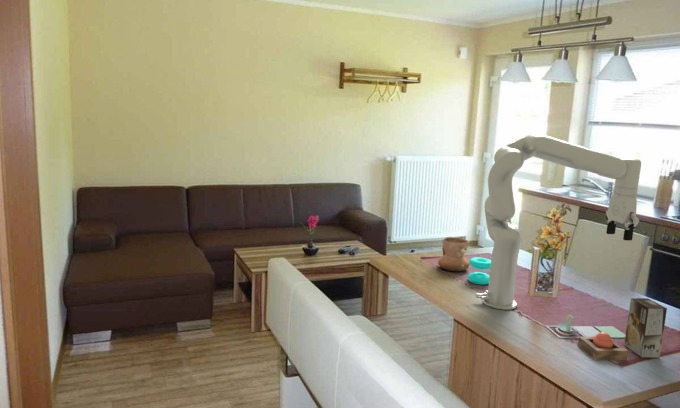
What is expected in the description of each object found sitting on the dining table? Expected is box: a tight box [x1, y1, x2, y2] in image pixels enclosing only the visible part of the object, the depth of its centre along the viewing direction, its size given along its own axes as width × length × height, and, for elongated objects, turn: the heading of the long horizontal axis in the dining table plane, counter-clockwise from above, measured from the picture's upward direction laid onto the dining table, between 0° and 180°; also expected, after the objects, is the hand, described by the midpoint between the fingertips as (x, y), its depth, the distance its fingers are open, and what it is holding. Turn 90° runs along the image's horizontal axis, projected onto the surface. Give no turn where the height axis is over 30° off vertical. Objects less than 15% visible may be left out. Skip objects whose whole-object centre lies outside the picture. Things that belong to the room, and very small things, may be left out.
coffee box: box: [623, 297, 668, 358], centre depth 162 cm, size 9×6×16 cm
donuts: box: [467, 256, 491, 286], centre depth 225 cm, size 10×10×10 cm
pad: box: [593, 325, 626, 339], centre depth 177 cm, size 7×9×1 cm
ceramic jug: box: [437, 236, 471, 272], centre depth 243 cm, size 18×14×14 cm
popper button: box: [593, 331, 615, 348], centre depth 160 cm, size 6×6×4 cm
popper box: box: [577, 336, 629, 361], centre depth 161 cm, size 10×10×3 cm
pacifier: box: [554, 314, 578, 337], centre depth 175 cm, size 7×6×6 cm
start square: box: [545, 325, 586, 340], centre depth 175 cm, size 10×10×1 cm
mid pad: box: [572, 325, 600, 337], centre depth 176 cm, size 7×9×1 cm
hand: (618, 237), depth 193 cm, fingers open, 9 cm apart
